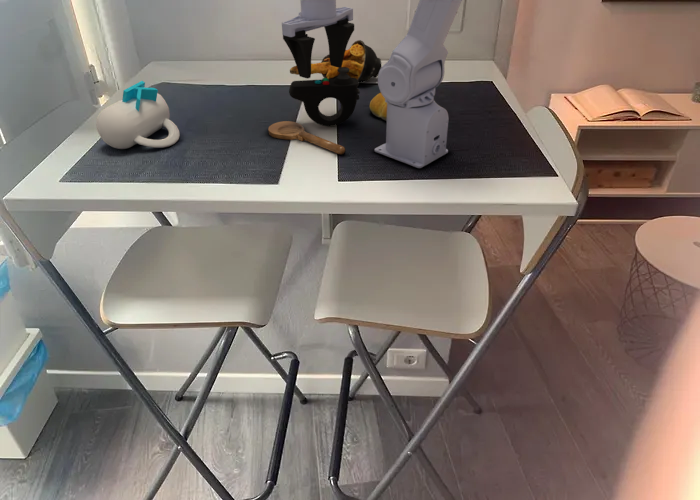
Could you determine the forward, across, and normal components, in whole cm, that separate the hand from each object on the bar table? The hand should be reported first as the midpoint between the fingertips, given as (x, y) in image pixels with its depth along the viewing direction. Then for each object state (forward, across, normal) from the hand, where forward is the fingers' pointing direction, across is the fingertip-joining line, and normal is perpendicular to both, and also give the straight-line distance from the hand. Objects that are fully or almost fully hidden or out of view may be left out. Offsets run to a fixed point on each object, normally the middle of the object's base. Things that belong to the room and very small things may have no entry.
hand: (320, 71), depth 98 cm
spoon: (+10, +7, +3) cm, 12 cm away
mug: (+10, +26, -17) cm, 33 cm away
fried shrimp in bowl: (+10, -18, -13) cm, 24 cm away
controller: (+10, 0, +1) cm, 10 cm away
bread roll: (+10, -12, +7) cm, 17 cm away
